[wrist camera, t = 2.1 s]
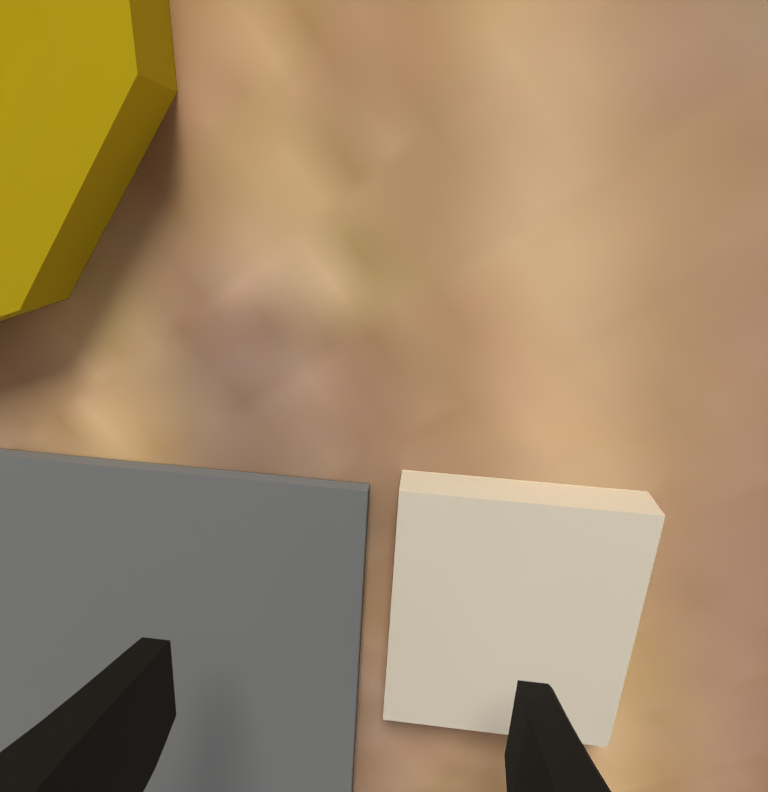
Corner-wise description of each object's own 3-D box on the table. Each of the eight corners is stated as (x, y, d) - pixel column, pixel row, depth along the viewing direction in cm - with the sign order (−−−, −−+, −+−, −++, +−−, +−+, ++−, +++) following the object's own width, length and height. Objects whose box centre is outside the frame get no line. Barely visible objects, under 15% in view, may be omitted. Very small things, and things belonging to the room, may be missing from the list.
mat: (346, 899, 19) (344, 912, 19) (-90, 836, 20) (-99, 847, 20) (369, 484, 14) (367, 491, 14) (-214, 428, 15) (-230, 434, 15)
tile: (388, 673, 17) (592, 697, 16) (382, 719, 15) (608, 747, 15) (403, 461, 15) (640, 482, 14) (399, 491, 13) (665, 515, 13)
